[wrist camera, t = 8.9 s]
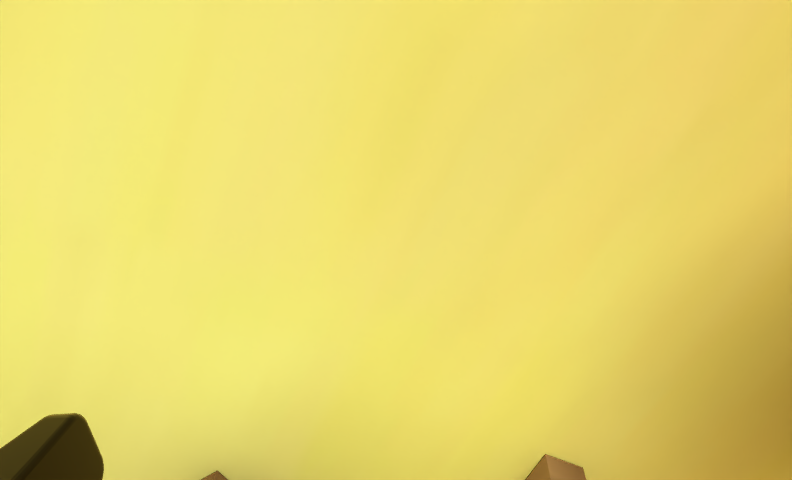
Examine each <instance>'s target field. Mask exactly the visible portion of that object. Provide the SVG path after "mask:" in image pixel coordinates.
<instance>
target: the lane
mask: <svg viewBox="0 0 792 480" xmlns="http://www.w3.org/2000/svg"><path fill="white" fill-rule="evenodd" d="M201 480H227V479H226V478H225V477H224V476H223V475H222V474H220V473H219V472H218V471H216V472H214V473H212V474H210V475H209V476H207V477H205V478H203V479H201ZM526 480H586V478H585V474H584V470H583V468H582V467H579V466H576V465H574V464H571V463H568V462H565V461H563V460H560V459H557V458H554V457H552V456H549V455H546V454H545V456H544V457H543V458H542V459H541V461H540V462H539V463H538V465H537V466H536V467H535V468H534V470H533V471H532V472H531V474H530V475H529V476H528V477H527V479H526Z"/></svg>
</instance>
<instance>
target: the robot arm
mask: <svg viewBox="0 0 792 480" xmlns="http://www.w3.org/2000/svg"><path fill="white" fill-rule="evenodd" d="M103 471H104V464H103V459H102V456H101V453H100V451H99V449H98V446H97V444H96V442H95V440H94V437H93V435H92V433H91V430H90V428H89V426H88V423H87V421H86V419H85V418H84V417H83V416H82V415H80V414H76V413H71V414H54V415H49V416H46V417H44V418H43V419H41V420H40V421H39V422H37V423H36V424H34V425H33V426H31V427H30V428H29V429H27V430H26V431H24V432H23V433H22V434H20V435H19V436H17V437H16V438H15V439H13V440H12V441H10V442H9V443H7V444H6V445H5V446H3V447H2V448H0V480H102V478H103Z"/></svg>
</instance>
